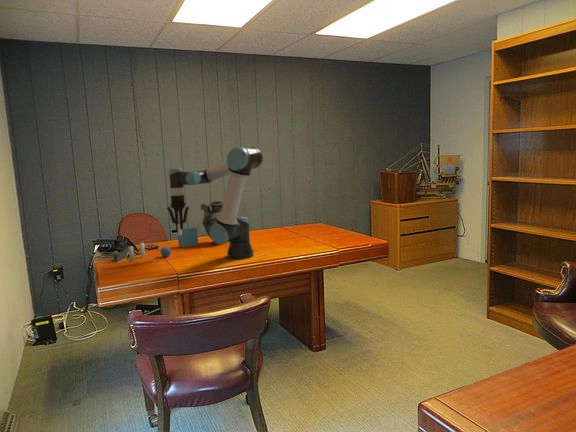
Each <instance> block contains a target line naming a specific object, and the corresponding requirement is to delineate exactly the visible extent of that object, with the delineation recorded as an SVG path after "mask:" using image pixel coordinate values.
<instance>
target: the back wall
mask: <svg viewBox="0 0 576 432" xmlns="http://www.w3.org/2000/svg"><path fill="white" fill-rule="evenodd" d="M128 252H129V247H127V248H125V249H123V250H121V251H119V252H117V253H115V254H114V255H113V261H114V263H119V262H120V261H122V260H124V259H125V257H126V255H127V253H128ZM123 258H124V259H123ZM126 258H127V257H126Z"/></svg>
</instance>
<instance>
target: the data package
mask: <svg viewBox="0 0 576 432" xmlns="http://www.w3.org/2000/svg"><path fill="white" fill-rule="evenodd" d="M198 233H199V232H198V228H197V227H194V226H191V227H183V229H182V235H178V234H177V239H178V246H179V247H181V248H189V247H197V246H198V245H199V235H198Z"/></svg>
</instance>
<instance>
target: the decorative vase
mask: <svg viewBox="0 0 576 432" xmlns="http://www.w3.org/2000/svg"><path fill="white" fill-rule="evenodd" d="M223 202H224V201H212V202H210V204H207V203H201V204H200V208H201V209H200V210H202V211H204V212H203V221H202V226H203V227H204V229H205V232H206V234H207V235H208V237H209V238H210V239H211V240H212V238H211V236H210V232H209V231H210V227H211V226H212V225H213V224H214V223H216V219H217V216H219V215H220V214H221V210H222V206H223ZM211 243H212V245H215V244H217V243H215V242H214V241H213V240H212V241H211Z"/></svg>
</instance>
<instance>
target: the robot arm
mask: <svg viewBox="0 0 576 432" xmlns="http://www.w3.org/2000/svg"><path fill="white" fill-rule="evenodd" d="M263 161H264V155H263V153H262V151H261V150H260V149H259V148H257V147H254V146H237V147H233V148H232V149H230V150H229V152H228V153H227V155H226V161H225V162H222V163H220V164H217V165H214V166H211V167H209V168H206V169H203V170H195V171H194V170H193V171H183V168H182V167H180V168H177V167H176V168H174V167H173V168H170V169H169V172H168V173H169V175H168V177H169V188H170V189H169V190H170V191H169V192H170V195H171V196H170V202H171V203H170V205H169V206H168V207H166V209H167V210H168V212H169V216H170V219H171V222H172V224H175V229H176V230H177V236H178V235H182V229H183V228H184V224H185V223H186V222H187V218H188V213H189V209H190V206H189V205H186V202H185V195H184V194H185V187H184V186H197V185H200V184H201V185H202V184H211V183H213V182H214V181H216V180H218V179H221V178H224V177H227V176H229V177H228V181H227V185H226V190H225V194H224V198H223V201H222V202H223V206H222V210H221V214H220V215H219V216H217V219H216V223H214V224H213V225H212V226H211V227H210V231H209V232H210V236H211V238H212V239H211V238H210V239H211V240H212V241H214V242H215V243H217V244H219V245H225V244H227V243H229V245H228V249H227V252H226V254H227V255H226V257H227V258H229V259H233V260H239V259H240V260H242V259H248V258H249V259H250V258H251V257H254V250H253V248H252V245H251V236H250V222H249V218H248V217H246V216H238V211H239V208H240V204H241V200H242V196H243V192H244V187H245V184H246V180H247V178H248V177H250V175H251V171H252V170H253V169H257V168H259V167H261V165H262V163H263ZM173 210H174V211H173ZM183 210H184V212H183Z"/></svg>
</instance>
